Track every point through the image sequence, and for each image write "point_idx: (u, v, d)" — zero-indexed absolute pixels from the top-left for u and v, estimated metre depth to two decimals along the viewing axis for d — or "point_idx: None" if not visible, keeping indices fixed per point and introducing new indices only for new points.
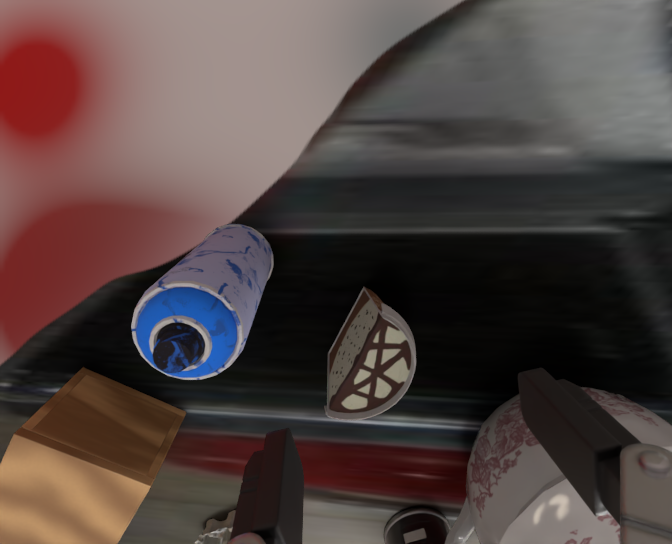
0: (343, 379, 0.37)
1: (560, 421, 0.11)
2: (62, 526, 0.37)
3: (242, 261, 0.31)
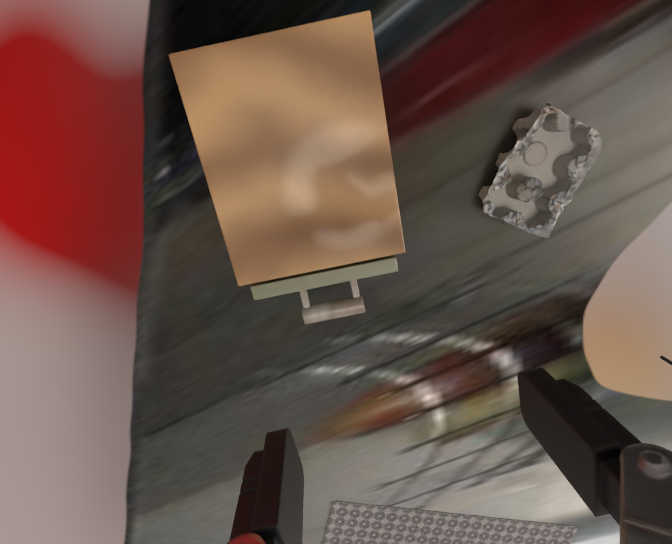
0: None
1: (560, 421, 0.11)
2: (313, 169, 0.26)
3: None
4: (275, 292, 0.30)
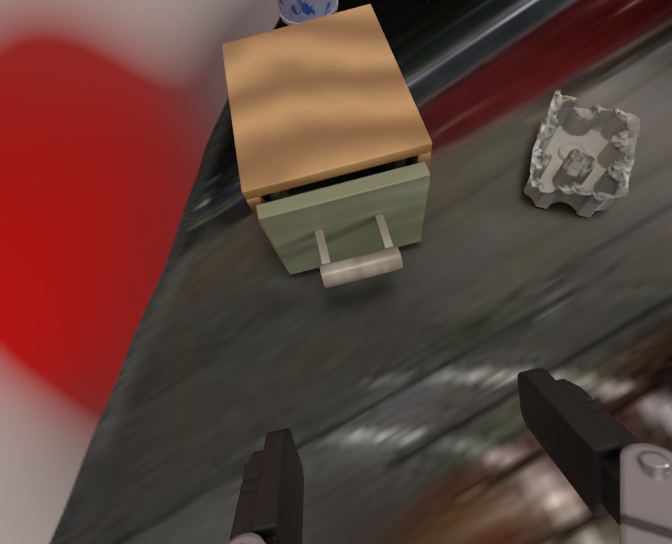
0: None
1: (560, 421, 0.11)
2: (328, 89, 0.28)
3: None
4: (284, 208, 0.25)
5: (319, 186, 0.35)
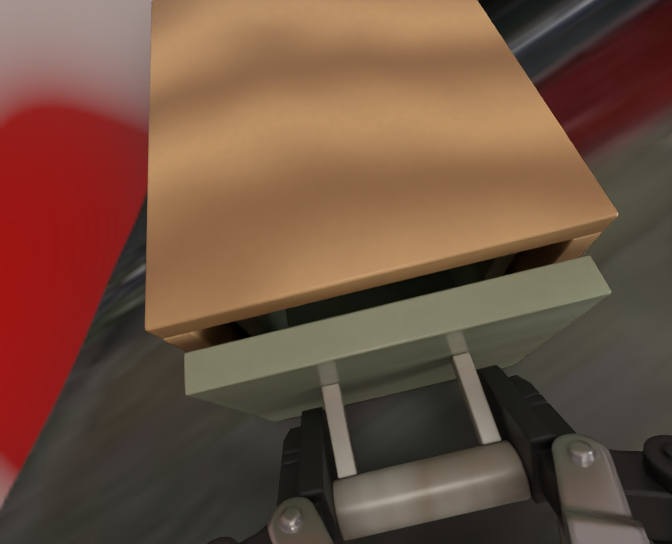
0: None
1: (506, 414, 0.11)
2: (352, 84, 0.13)
3: None
4: (248, 368, 0.10)
5: None
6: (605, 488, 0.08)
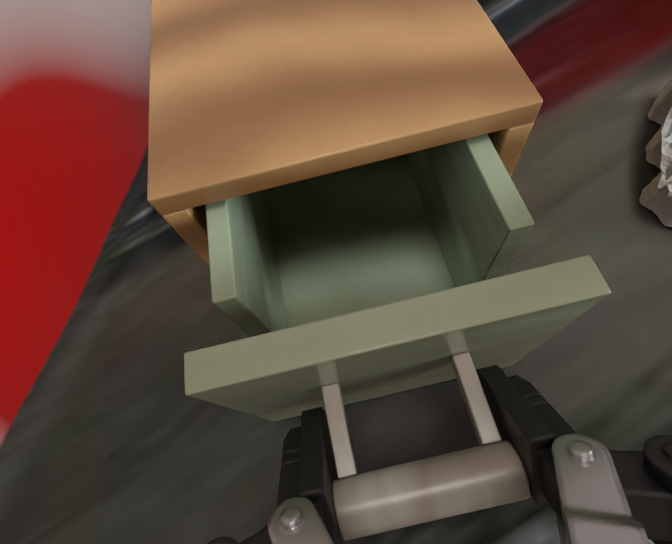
0: None
1: (506, 414, 0.11)
2: (328, 12, 0.15)
3: None
4: (248, 368, 0.10)
5: (328, 253, 0.20)
6: (605, 488, 0.08)
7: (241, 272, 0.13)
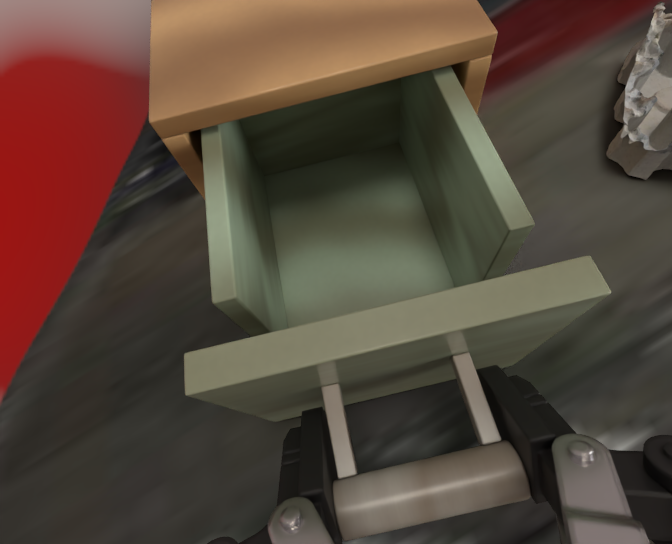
0: None
1: (506, 414, 0.11)
2: None
3: None
4: (248, 368, 0.10)
5: (328, 253, 0.20)
6: (605, 488, 0.08)
7: (241, 272, 0.13)
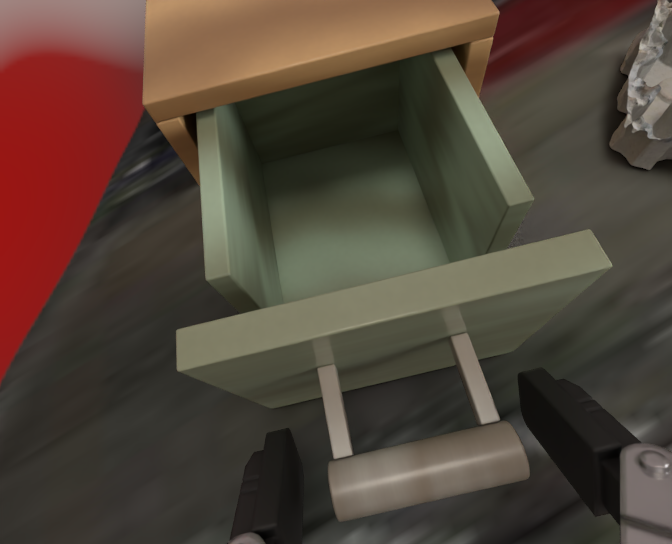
0: None
1: (560, 421, 0.11)
2: None
3: None
4: (241, 344, 0.10)
5: (326, 240, 0.20)
6: None
7: (236, 251, 0.13)
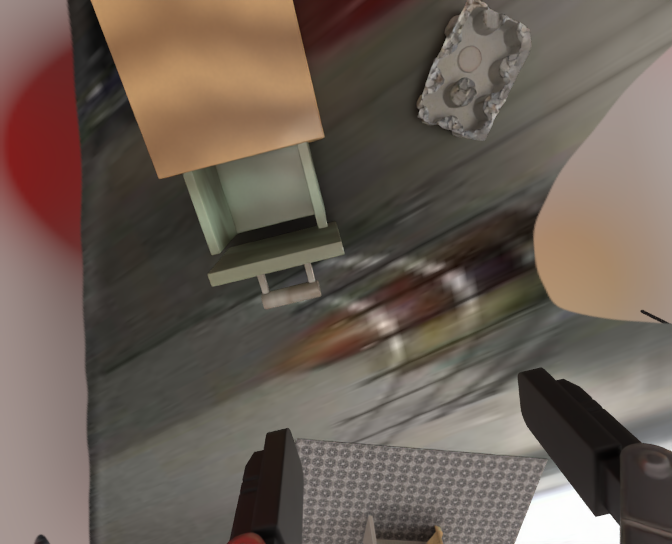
0: None
1: (560, 421, 0.11)
2: (221, 48, 0.26)
3: None
4: (231, 278, 0.32)
5: (248, 178, 0.37)
6: None
7: (217, 237, 0.32)
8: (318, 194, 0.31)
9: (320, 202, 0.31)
